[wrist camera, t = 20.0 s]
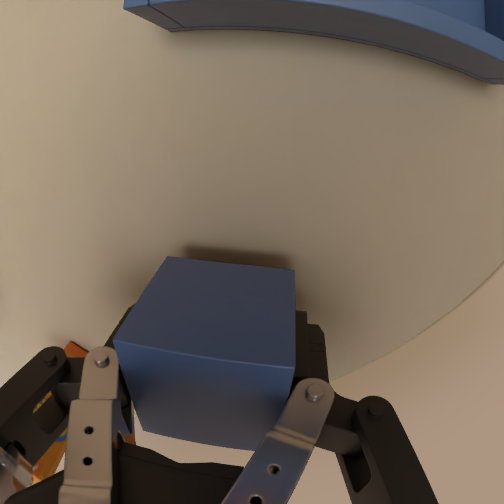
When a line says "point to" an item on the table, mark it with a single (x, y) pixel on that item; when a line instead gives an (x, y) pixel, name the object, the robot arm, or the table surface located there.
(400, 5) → the blue bin
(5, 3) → the table surface
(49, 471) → the supplement box
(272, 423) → the blue block
